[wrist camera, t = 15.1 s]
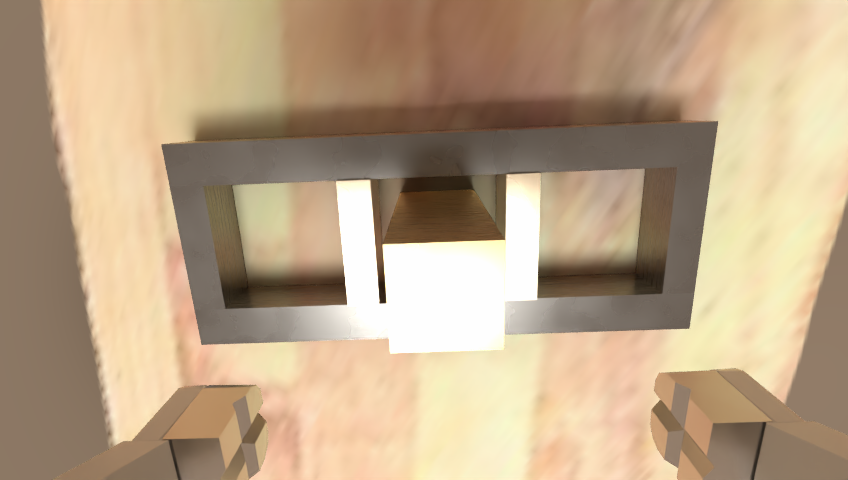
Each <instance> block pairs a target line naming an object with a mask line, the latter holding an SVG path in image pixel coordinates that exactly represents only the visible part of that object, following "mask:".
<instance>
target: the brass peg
mask: <svg viewBox="0 0 848 480" xmlns="http://www.w3.org/2000/svg"><path fill="white" fill-rule="evenodd" d="M383 255H384V270H385V284H386V299H387V313H388V328H389V342H390V353H409V352H440V351H471V350H502V349H504V301H505V239H504V237H503V236H502V234H501V232H500V231H499V229H498V228H497V226H496V224H495V223H494V221H493V220H492V218H491V216H490V215H489V213H488V212H487V210H486V208H485V207H484V205H483V204H482V202H481V200H480V199H479V197H478V196H477V194H476V192H475V191H474V190H448V191H422V192H400V195H399V198H398V201H397V204H396V207H395V210H394V213H393V216H392V219H391V222H390V225H389V228H388V231H387V234H386V236H385V239H384V242H383Z"/></svg>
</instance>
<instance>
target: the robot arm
mask: <svg viewBox="0 0 848 480" xmlns="http://www.w3.org/2000/svg"><path fill="white" fill-rule="evenodd" d="M654 391H655V393H656V394H657V396H658V397H659V398H660V401H659V402H658V403H657V404H656V405H655V406H654V407H653V409H652V410H651V422H650V425H651V430H652V436H653V440H654V442H655V444H656V447H657V449H658V451H659V452H660V454H661V455H662V457H663V458H664V459H665V460H666V461H668V462H669V463H671V464H673V465H674V466H676V467H677V468H678V474H677V479H678V480H848V435H846V434H844V433H841V432H839V431H836V430H834V429H832V428H829V427H827V426H824V425H822V424H819V423H817V422H814V421H804V420H803V419H802V418H800V417H799V416H798V415H797V414H796V413H794V412H793V411H792V410H791V409H789V408H788V407H787V406H786V405H785V404H783V403H782V402H781V401H780V400H778V399H777V398H776V397H775V396H774V395H772V394H771V393H770V392H769V391H767V390H766V389H765V388H764V387H763V386H761V385H760V384H759V383H758V382H757V381H755V380H754V379H753V378H752V377H750V376H749V375H748V374H747V373H746V372H744V371H742V370H739V369H736V368H732V369H717V370H709V371H688V372H667V373H659V374H658V376H657V378H656V380H655V387H654ZM262 404H263V399H262V395H261V390H260V388H259V387H258V386H257V385H209V386H206V385H201V386H184V387H181V388H179V389H178V390H177V391H176V392H175V393H174V394H173V395H172V396H171V398H170V399H169V400H168V401H167V402H166V403H165V404H164V405H163V407H162V408H161V409H160V410H159V411H158V412H157V413H156V414H155V415H154V417H153V418H152V419H151V420H150V421H149V422H148V423H147V424H146V425H145V427H144V428H143V429H142V430H141V431H140V432H139V433H138V434H137V436H136V437H135V438H134V439H133V440H132V441H124V442H121V443H119V444H118V445H116V446H114V447H112V448H110V449H108V450H106V451H105V452H103V453H101V454H99V455H97V456H95V457H94V458H91V459H90V460H88V461H86V462H84V463H82V464H80V465H78V466H77V467H75V468H73V469H71V470H69V471H67V472H65V473H64V474H62V475H60V476H58V477H56V478H54V479H52V480H249V479H250V478H251V477H252V476H253V475H255V474H256V473H257V472H259V471H260V469H261V466H262V464H263V462H264V460H265V456H266V451H267V446H268V428H267V422H266V420H265V419H264V418H263V417H262V416H261V415H260V414H259V413H258V411H259V410H260V408H261V406H262Z"/></svg>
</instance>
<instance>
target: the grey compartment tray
mask: <svg viewBox="0 0 848 480" xmlns="http://www.w3.org/2000/svg"><path fill="white" fill-rule="evenodd" d="M717 126H718V121H659V122H634V123H610V124H586V125H562V126H538V127H514V128H490V129H466V130H442V131H418V132H394V133H369V134H345V135H321V136H297V137H273V138H249V139H225V140H201V141H188V142H179V143H170V144H161V145H162V150H163V155H164V160H165V165H166V170H167V175H168V180H169V185H170V190H171V195H172V200H173V205H174V210H175V215H176V220H177V224H178V229H179V234H180V239H181V244H182V249H183V254H184V259H185V264H186V269H187V274H188V279H189V284H190V289H191V294H192V299H193V304H194V309H195V314H196V319H197V324H198V329H199V334H200V339H201V344H202V345H207V344H237V343H267V342H297V341H327V340H357V339H387V338H389V328H388V313H387V299H386V284H385V274H384V259H383V245H382V231H381V216H380V202H379V187H378V179H389V178H415V177H440V176H465V175H490V174H496V226H497V228H498V229H499V231H500V232H501V234H502V236H503V237H504V239H505V301H504V335H508V334H538V333H568V332H598V331H629V330H659V329H689V327H690V320H691V313H692V306H693V298H694V291H695V284H696V277H697V270H698V262H699V255H700V248H701V241H702V234H703V226H704V219H705V212H706V205H707V198H708V191H709V183H710V176H711V169H712V162H713V155H714V147H715V140H716V133H717ZM642 168H646V171H645V181H644V191H643V201H642V211H641V221H640V232H639V242H638V252H637V262H636V272H635V273H631V274H602V275H574V276H546V277H538V252H539V222H540V191H541V172H566V171H591V170H616V169H642ZM314 181H336V187H337V197H338V207H339V218H340V228H341V239H342V249H343V260H344V270H345V280H346V284H320V285H292V286H264V287H248V283H247V277H246V271H245V264H244V258H243V252H242V246H241V240H240V234H239V227H238V221H237V215H236V209H235V203H234V197H233V190H232V185H238V184H263V183H289V182H314Z"/></svg>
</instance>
